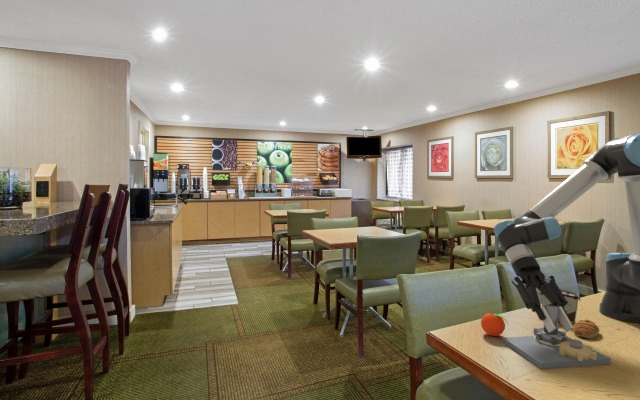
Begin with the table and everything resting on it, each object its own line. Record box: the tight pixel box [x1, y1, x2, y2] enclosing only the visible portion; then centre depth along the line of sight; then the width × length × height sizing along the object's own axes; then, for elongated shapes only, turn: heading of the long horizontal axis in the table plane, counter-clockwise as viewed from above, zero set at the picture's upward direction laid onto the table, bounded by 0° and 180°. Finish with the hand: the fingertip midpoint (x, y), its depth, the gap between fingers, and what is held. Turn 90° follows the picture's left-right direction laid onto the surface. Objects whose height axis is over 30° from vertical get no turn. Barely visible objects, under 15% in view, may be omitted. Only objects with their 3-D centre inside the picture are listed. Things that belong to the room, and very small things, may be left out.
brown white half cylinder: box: [538, 288, 581, 324], centre depth 129 cm, size 12×6×10 cm, turn 58°
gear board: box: [502, 334, 612, 370], centre depth 101 cm, size 20×18×5 cm
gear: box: [533, 304, 570, 345], centre depth 106 cm, size 9×8×10 cm
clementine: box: [480, 312, 509, 337], centre depth 113 cm, size 8×7×7 cm
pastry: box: [572, 319, 601, 339], centre depth 114 cm, size 9×7×4 cm
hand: (560, 329), depth 102 cm, fingers open, 5 cm apart
